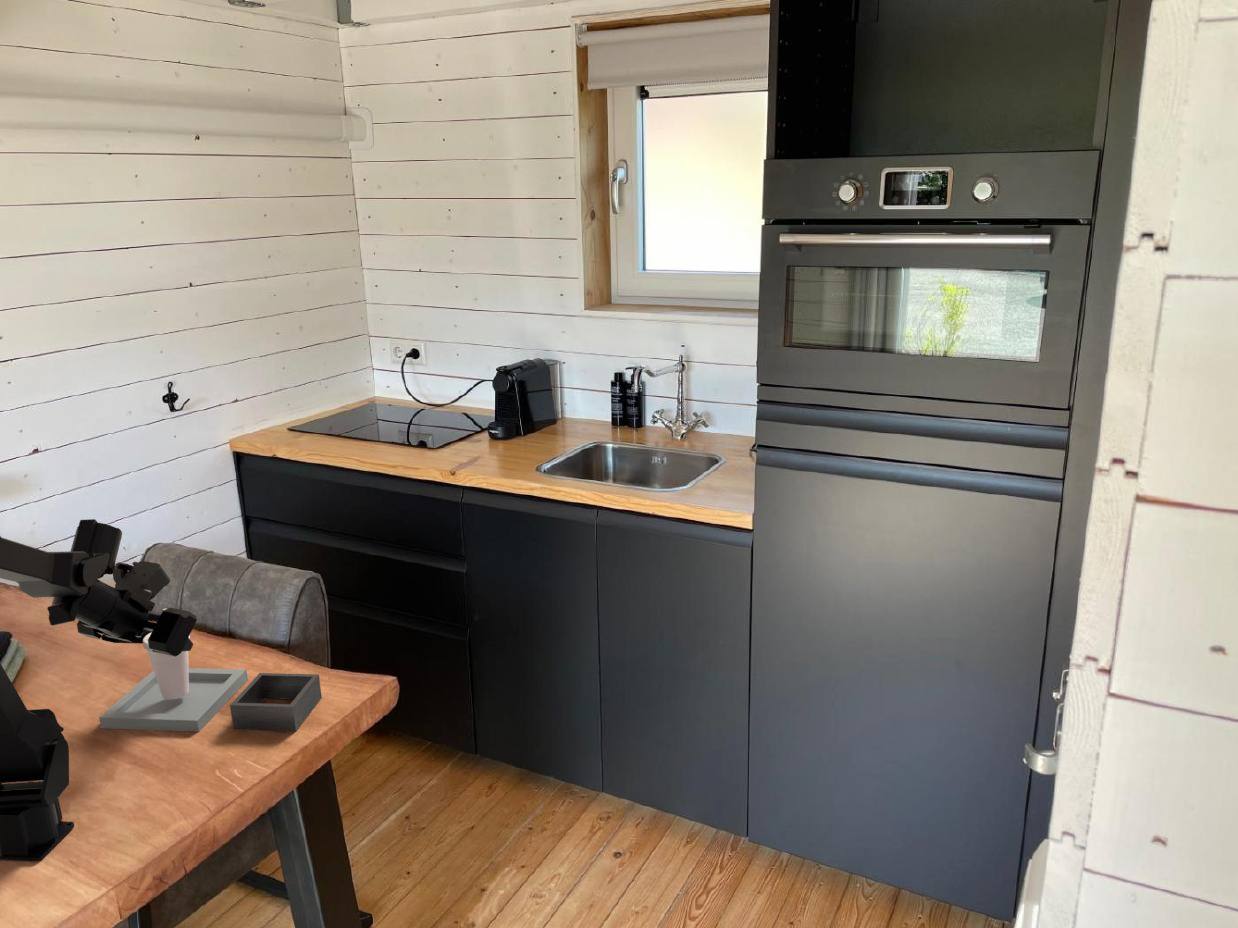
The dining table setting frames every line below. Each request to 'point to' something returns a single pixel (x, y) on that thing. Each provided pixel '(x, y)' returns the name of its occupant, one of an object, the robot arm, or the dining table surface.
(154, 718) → the tray
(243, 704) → the cup holder
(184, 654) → the smoothie
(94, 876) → the dining table surface
